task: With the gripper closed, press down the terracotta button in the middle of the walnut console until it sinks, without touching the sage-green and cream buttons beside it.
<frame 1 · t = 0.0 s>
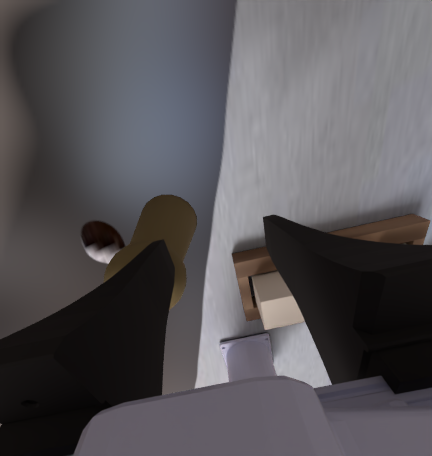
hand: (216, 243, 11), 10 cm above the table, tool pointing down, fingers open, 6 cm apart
cork: (169, 220, 22), on the table, touching gripper
cream button: (277, 298, 23), point 4 cm above the table, slide at 0.0 cm
walnut console: (319, 266, 26), on the table
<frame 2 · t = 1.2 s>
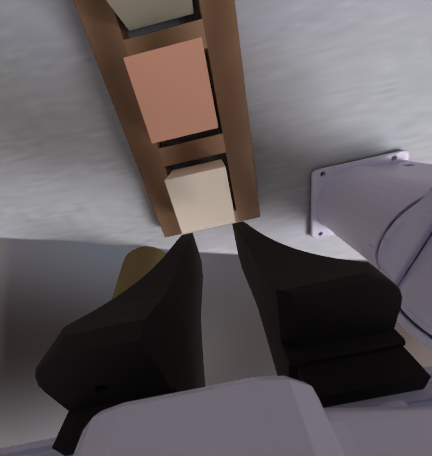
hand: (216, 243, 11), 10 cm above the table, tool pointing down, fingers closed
cork: (149, 266, 24), on the table
cream button: (202, 195, 17), point 4 cm above the table, slide at 0.0 cm
terracotta button: (178, 100, 14), point 4 cm above the table, slide at 0.0 cm
walnut console: (183, 105, 17), on the table
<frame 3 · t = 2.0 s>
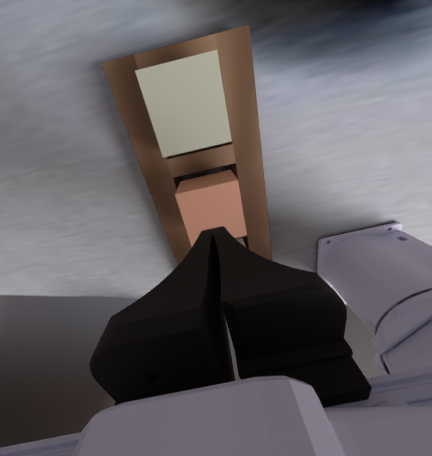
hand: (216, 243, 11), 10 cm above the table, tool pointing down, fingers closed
cream button: (227, 270, 19), point 4 cm above the table, slide at 0.0 cm
terracotta button: (211, 206, 16), point 4 cm above the table, slide at 0.0 cm
walnut console: (210, 194, 19), on the table
sage button: (189, 111, 13), point 4 cm above the table, slide at 0.0 cm
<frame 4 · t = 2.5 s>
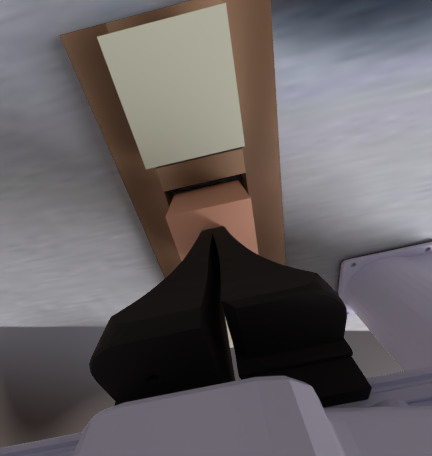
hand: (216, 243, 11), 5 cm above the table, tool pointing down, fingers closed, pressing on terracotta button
cream button: (233, 304, 16), point 4 cm above the table, slide at 0.0 cm
terracotta button: (214, 228, 13), point 3 cm above the table, slide at 0.3 cm, touching gripper
walnut console: (212, 209, 16), on the table
sage button: (184, 104, 9), point 4 cm above the table, slide at 0.0 cm
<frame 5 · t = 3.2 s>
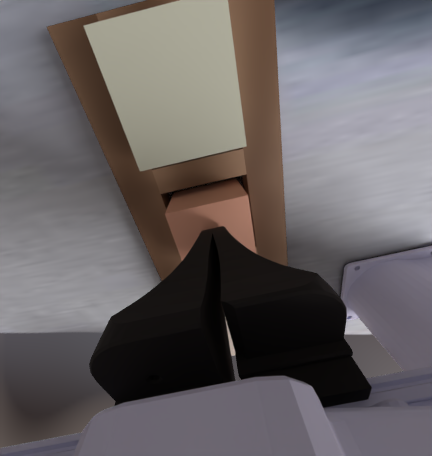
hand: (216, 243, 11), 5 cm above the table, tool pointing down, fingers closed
cream button: (233, 310, 15), point 4 cm above the table, slide at 0.0 cm
terracotta button: (213, 225, 13), point 2 cm above the table, slide at 1.3 cm
walnut console: (211, 211, 15), on the table
sage button: (181, 101, 9), point 4 cm above the table, slide at 0.0 cm
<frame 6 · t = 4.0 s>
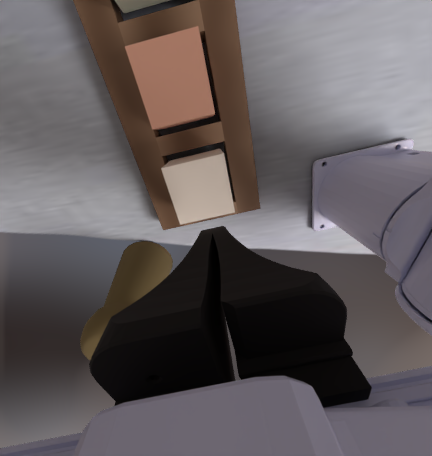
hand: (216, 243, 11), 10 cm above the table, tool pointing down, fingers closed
cork: (148, 261, 24), on the table
cream button: (200, 185, 16), point 4 cm above the table, slide at 0.0 cm
terracotta button: (177, 88, 14), point 2 cm above the table, slide at 1.3 cm
walnut console: (180, 93, 16), on the table
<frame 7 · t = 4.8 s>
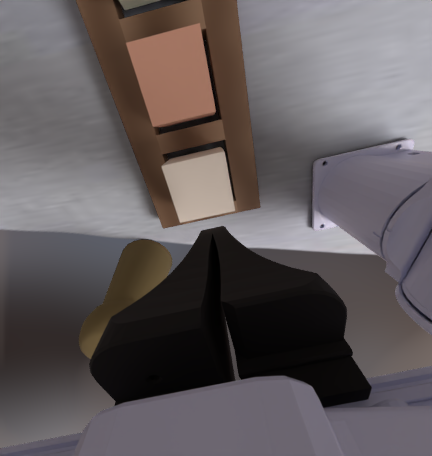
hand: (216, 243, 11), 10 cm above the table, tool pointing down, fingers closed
cork: (147, 259, 24), on the table
cream button: (201, 183, 16), point 4 cm above the table, slide at 0.0 cm
terracotta button: (178, 85, 14), point 2 cm above the table, slide at 1.3 cm
walnut console: (181, 91, 16), on the table
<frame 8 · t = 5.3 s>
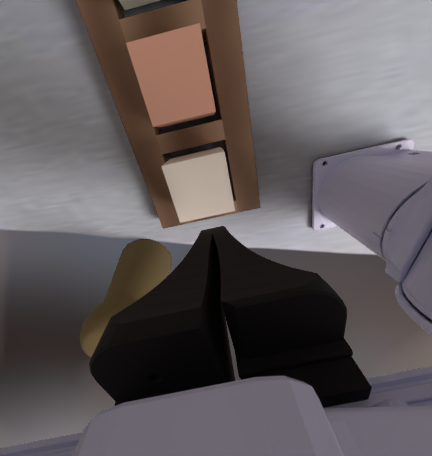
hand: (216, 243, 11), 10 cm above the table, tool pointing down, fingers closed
cork: (147, 259, 24), on the table
cream button: (201, 183, 16), point 4 cm above the table, slide at 0.0 cm
terracotta button: (178, 85, 14), point 2 cm above the table, slide at 1.3 cm
walnut console: (181, 91, 16), on the table
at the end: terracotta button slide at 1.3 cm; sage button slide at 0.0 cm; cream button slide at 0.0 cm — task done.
